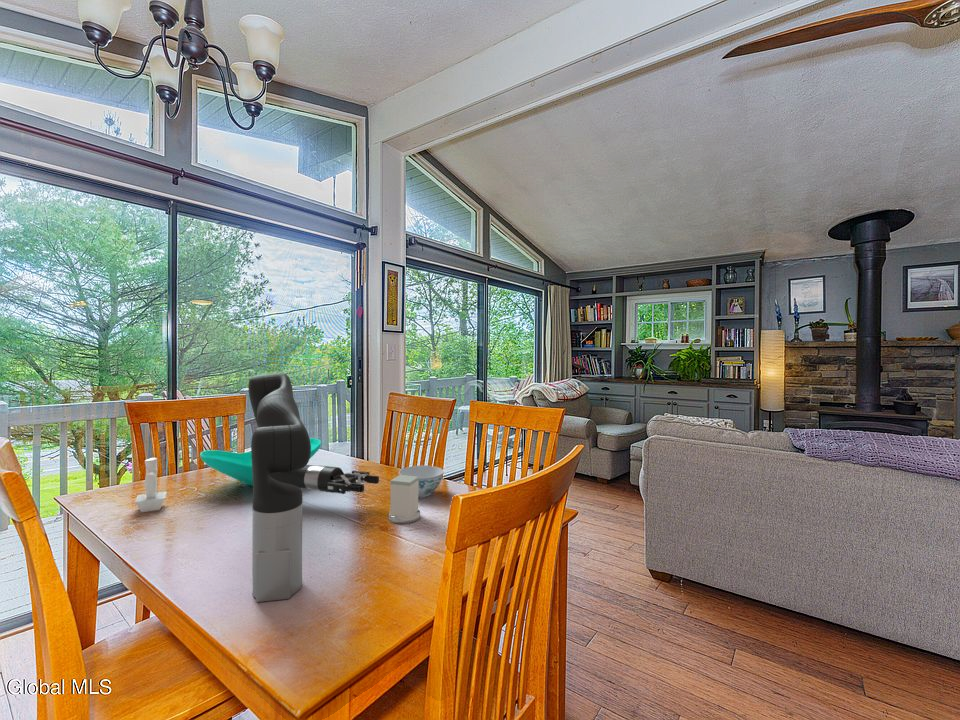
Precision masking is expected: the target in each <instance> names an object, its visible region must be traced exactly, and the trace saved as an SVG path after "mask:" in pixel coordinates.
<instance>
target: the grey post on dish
mask: <svg viewBox="0 0 960 720" xmlns="http://www.w3.org/2000/svg"><path fill="white" fill-rule="evenodd" d="M420 519H421V511H420V510H419V509H418V511H417V512H416V513H415V514H413V515H412V516H411V517H410V518H407V517H399V516H391V515H390V511H389V512H388V520H389V522H390V523H393V524H396V523H397V525H408V524H407V523H409V524H413V522H414V523H416V522H418V521H419V520H420Z"/></svg>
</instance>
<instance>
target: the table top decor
mask: <svg viewBox="0 0 960 720" xmlns="http://www.w3.org/2000/svg"><path fill="white" fill-rule="evenodd" d="M309 438H310V444H311V455H310V459H312V458H313V456H314V455H315V454H316V453H317V452H318V451H319V450H320V448H321V446H322V443H323V442H322V441H321V440H320V439H319V438H312V437H309ZM199 457H200V459H201V460H202V462H203V463H204V464H206V465H207V466H208V467H210V468H212V469H213V470H216V471H218V472H219V473H222V474H224V475H226V476H227V477H231V478H232V479H235V480H237V481H239V482H241V483H244V484H247V485H248V486H251V487H253V472H252V456H251V451H247V452H246V451H245V452H233V451H227V450H217V449H210V450H209V449H207V450H204V451H200V454H199Z"/></svg>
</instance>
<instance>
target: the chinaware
mask: <svg viewBox="0 0 960 720" xmlns="http://www.w3.org/2000/svg"><path fill="white" fill-rule="evenodd" d="M444 473H445V472H444V470H443V468H441V467H438V466H432V465H412V466H406V467H404V468H401V469H399V471H398V476H399V475H406V476H416V477H419V482H418V498H427V497H429V495H430V496H431V495H432V492H433V491H435V490H436V489H437V488H438V487H440V486H439V485H440V484H441V482H442V480H443V477H444ZM426 496H427V497H426Z"/></svg>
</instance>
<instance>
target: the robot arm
mask: <svg viewBox="0 0 960 720" xmlns="http://www.w3.org/2000/svg"><path fill="white" fill-rule="evenodd" d="M247 387H248V396H249V400H250V404H251V408H252V413H253V415H254V418H255V422H256V425H257V428H256V429H254V431H253V434H252V435H251V441H250V450H251V451H250V452H251V456H252V472H253V486H252V532H251V533H252V543H251V544H252V548H251V550H252V552H251V553H252V557H251V558H252V559H251V562H252V564H251V565H252V567H251V568H252V596H253V597H254V598H255V603H260V602H261V603H262V602H271V601H272V602H273V601H279V600H281V601H282V600H288V599H291V598H292V595H294V594H295V593H297V592H298V591H299V590H300V589H301V588H302V586H303V490H302V489H308V490H312V491H316V492H324V493H330V494H331V493H333V494H342V495H346V493H351V492H354V493H355V492H356V493H364V491H365V484H364V483H368V484H373V485H374V484H375V485H376V484H379V482H380V477H379V475H372V474H370V471H362V470H361V471H360V470H359V471H358V470H352V471H351V472H345V473H344V471H343V469H342V468H341V467H336V466H328V465H311V464H308V463H309V462H310V459H311V458H310V455H311V444H310V438H311V437H310V435H309V433H308V430H307V428H306V426H305V425H304V423H303V421H302V420H301V417H300V412H299V408H298V406H297V405H298V404H297V403H296V400H295V398H294V394H293V393H294V391H293V390H294V389H293V386H292V382H291V378H290V377H289V376H288V375H287V374H286V373H283V372H275V373H268V374H259V375H253V376H251V377H250V378H249V379H248V386H247Z"/></svg>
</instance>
